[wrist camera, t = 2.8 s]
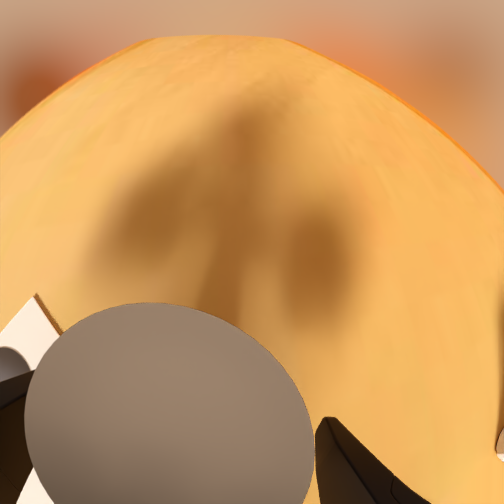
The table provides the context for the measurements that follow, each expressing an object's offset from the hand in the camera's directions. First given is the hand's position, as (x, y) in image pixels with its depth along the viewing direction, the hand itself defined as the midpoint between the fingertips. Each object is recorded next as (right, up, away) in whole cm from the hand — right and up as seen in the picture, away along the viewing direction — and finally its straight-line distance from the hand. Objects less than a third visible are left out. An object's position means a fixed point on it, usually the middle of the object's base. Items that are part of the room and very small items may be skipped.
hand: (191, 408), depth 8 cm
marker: (-1, -4, +6) cm, 8 cm away
